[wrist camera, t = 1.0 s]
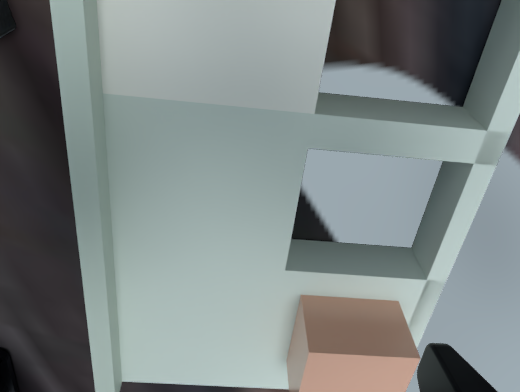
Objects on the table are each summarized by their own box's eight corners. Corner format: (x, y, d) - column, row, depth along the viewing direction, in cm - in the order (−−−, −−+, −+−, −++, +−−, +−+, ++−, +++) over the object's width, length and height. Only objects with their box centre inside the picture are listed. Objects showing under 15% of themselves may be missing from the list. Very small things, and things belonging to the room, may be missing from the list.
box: (386, 359, 30) (404, 417, 27) (114, 344, 29) (96, 404, 25) (554, -71, 17) (629, -62, 14) (77, -136, 16) (32, -144, 12)
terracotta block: (374, 365, 26) (391, 424, 23) (286, 360, 26) (291, 420, 23) (398, 300, 24) (420, 358, 21) (300, 294, 23) (309, 352, 20)
